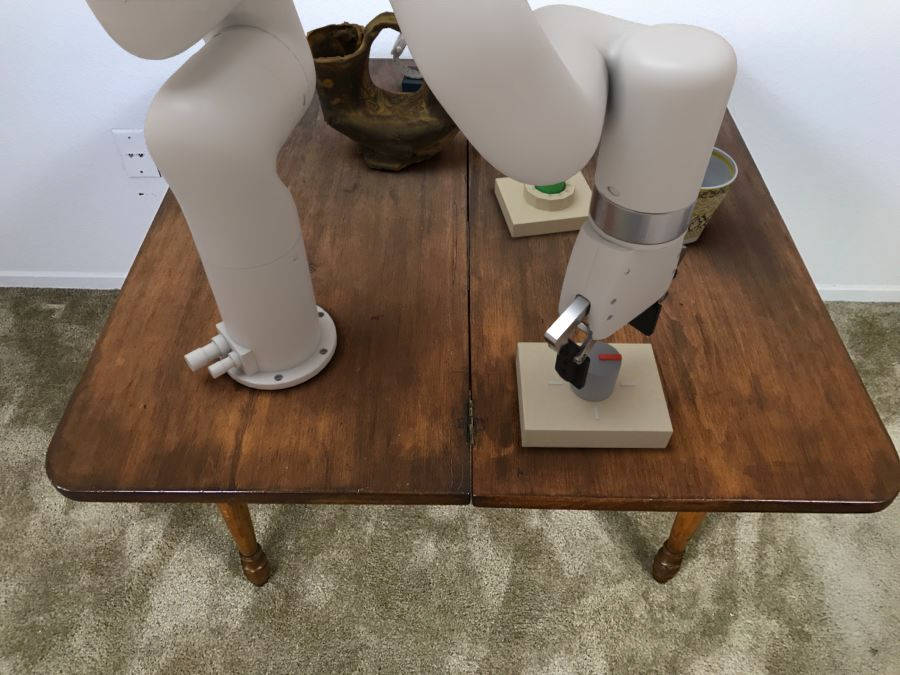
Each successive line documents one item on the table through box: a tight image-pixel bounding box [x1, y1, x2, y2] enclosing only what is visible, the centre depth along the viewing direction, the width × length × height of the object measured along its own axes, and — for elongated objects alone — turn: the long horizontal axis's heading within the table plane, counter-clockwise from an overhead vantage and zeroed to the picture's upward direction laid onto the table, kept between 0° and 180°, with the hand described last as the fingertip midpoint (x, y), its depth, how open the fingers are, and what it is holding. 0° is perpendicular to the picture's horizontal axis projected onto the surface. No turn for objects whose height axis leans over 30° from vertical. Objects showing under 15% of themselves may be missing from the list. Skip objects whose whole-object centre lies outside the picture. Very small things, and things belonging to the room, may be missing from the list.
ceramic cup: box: [682, 146, 739, 246], centre depth 85 cm, size 13×10×10 cm
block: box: [494, 170, 592, 238], centre depth 89 cm, size 12×10×4 cm
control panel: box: [515, 341, 674, 449], centre depth 68 cm, size 14×11×3 cm
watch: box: [390, 33, 423, 93], centre depth 107 cm, size 6×8×11 cm
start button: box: [536, 181, 565, 194], centre depth 87 cm, size 4×4×2 cm
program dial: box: [570, 340, 622, 401], centre depth 66 cm, size 4×4×4 cm
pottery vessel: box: [305, 10, 461, 172], centre depth 92 cm, size 25×11×20 cm, turn 86°
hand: (604, 352), depth 63 cm, fingers open, 9 cm apart
